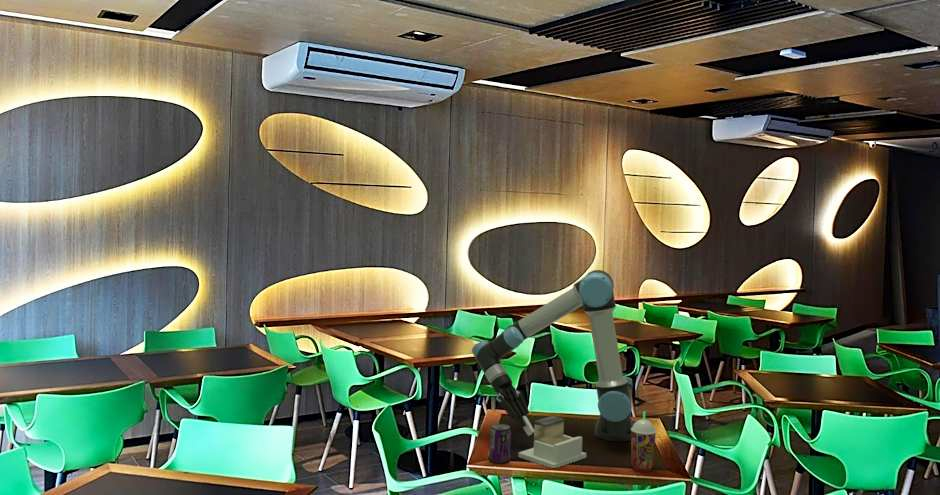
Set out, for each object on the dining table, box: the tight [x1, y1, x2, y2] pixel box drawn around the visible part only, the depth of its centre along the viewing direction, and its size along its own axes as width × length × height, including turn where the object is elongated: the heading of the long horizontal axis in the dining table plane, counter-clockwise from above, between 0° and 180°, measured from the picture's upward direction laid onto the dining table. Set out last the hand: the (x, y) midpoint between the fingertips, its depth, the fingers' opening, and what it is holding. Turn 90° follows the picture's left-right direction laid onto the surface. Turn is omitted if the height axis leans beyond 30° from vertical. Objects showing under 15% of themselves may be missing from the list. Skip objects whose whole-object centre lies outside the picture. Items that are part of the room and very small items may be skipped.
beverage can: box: [489, 423, 512, 464], centre depth 273 cm, size 7×7×12 cm
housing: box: [517, 434, 588, 469], centre depth 278 cm, size 16×18×8 cm
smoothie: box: [630, 410, 657, 473], centre depth 268 cm, size 8×8×20 cm
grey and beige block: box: [533, 415, 565, 446], centre depth 279 cm, size 5×10×11 cm, turn 135°
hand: (531, 433), depth 285 cm, fingers closed
